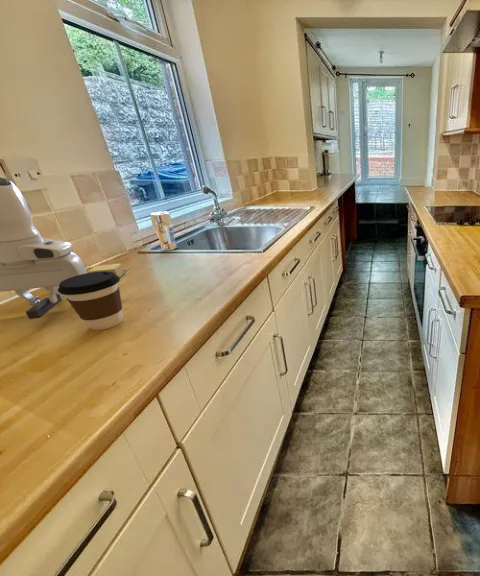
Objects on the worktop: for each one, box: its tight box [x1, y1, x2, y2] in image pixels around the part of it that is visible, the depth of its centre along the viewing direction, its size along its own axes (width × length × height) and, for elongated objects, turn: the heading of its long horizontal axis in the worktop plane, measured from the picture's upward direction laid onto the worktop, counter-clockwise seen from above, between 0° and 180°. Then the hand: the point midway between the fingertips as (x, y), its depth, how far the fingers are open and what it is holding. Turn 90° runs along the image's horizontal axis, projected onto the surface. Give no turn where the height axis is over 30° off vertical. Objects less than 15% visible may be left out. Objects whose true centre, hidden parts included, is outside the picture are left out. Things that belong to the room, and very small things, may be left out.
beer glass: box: [149, 211, 179, 251], centre depth 133 cm, size 7×7×15 cm
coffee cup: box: [58, 271, 123, 331], centre depth 76 cm, size 11×11×12 cm
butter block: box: [88, 263, 125, 278], centre depth 101 cm, size 7×6×4 cm
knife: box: [25, 286, 66, 320], centre depth 84 cm, size 21×2×3 cm, turn 19°
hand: (44, 303), depth 79 cm, fingers closed on knife, 2 cm apart
